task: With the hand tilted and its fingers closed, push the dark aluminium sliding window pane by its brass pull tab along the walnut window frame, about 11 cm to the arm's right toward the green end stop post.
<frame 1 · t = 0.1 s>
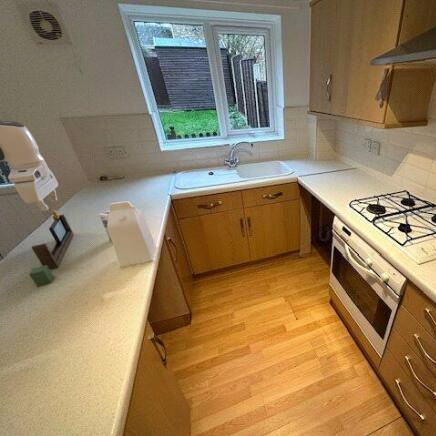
hand: (50, 205, 91), 26 cm above the worktop, tool pointing down, fingers open, 8 cm apart
window pane: (57, 227, 112), point 9 cm above the worktop, slide at 0.0 cm
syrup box: (119, 238, 120), on the worktop
end stop: (45, 281, 92), on the worktop
window frame: (52, 269, 99), on the worktop
milk: (139, 256, 106), on the worktop
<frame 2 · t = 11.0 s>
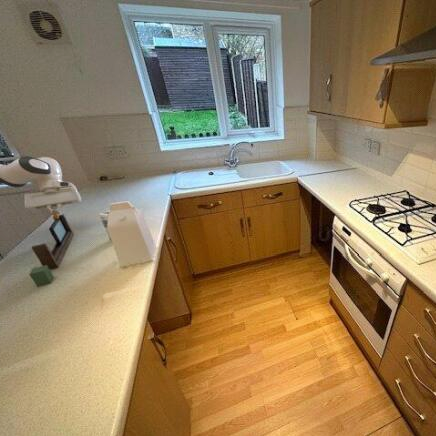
hand: (56, 213, 115), 13 cm above the worktop, tool tilted 45°, fingers closed, pressing on window pane
window pane: (56, 227, 112), point 9 cm above the worktop, slide at 0.1 cm, touching gripper
everything else where it was.
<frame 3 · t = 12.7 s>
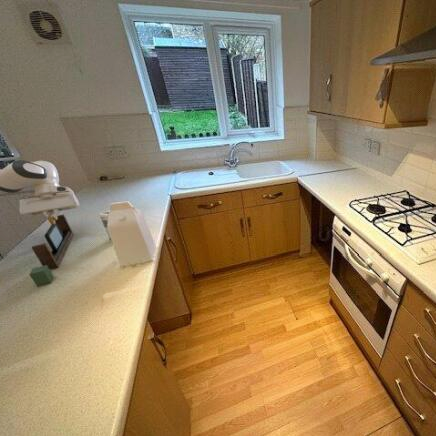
hand: (52, 220, 110), 13 cm above the worktop, tool tilted 45°, fingers closed, pressing on window pane
window pane: (52, 233, 107), point 9 cm above the worktop, slide at 6.8 cm, touching gripper
everything else where it was.
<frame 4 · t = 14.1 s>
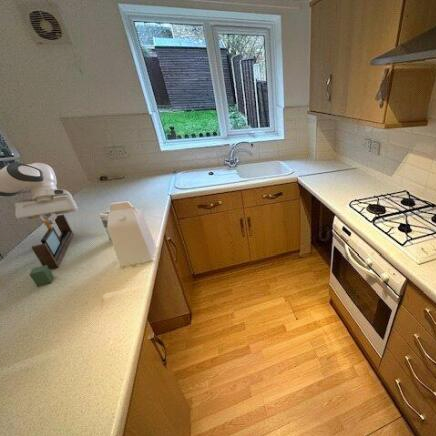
hand: (49, 224, 107), 13 cm above the worktop, tool tilted 45°, fingers closed, pressing on window pane
window pane: (49, 238, 104), point 9 cm above the worktop, slide at 11.5 cm, touching gripper
everything else where it was.
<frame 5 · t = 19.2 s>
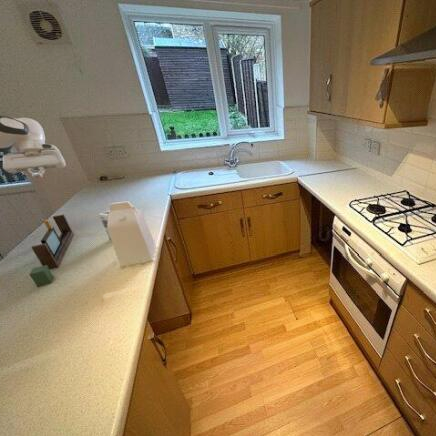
hand: (37, 177, 107), 31 cm above the worktop, tool tilted 45°, fingers closed
window pane: (49, 238, 104), point 9 cm above the worktop, slide at 11.5 cm
everything else where it was.
at the end: window pane slide at 11.5 cm; window pane 20.0 cm from the end stop (horizontally) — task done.
